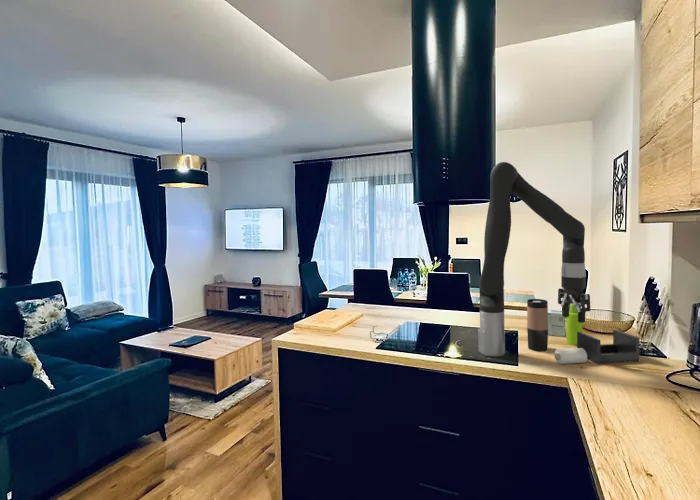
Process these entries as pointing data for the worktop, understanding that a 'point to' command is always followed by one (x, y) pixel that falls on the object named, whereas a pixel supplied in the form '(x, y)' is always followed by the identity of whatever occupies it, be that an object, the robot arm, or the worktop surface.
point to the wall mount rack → (383, 334)
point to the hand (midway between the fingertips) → (573, 319)
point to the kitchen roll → (571, 355)
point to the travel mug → (537, 324)
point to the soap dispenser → (572, 326)
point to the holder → (610, 348)
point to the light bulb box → (556, 323)
